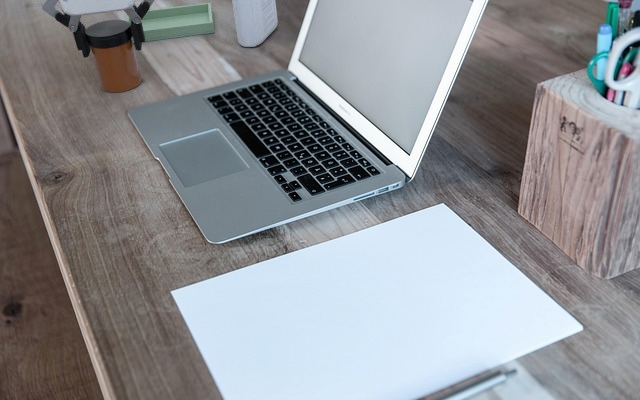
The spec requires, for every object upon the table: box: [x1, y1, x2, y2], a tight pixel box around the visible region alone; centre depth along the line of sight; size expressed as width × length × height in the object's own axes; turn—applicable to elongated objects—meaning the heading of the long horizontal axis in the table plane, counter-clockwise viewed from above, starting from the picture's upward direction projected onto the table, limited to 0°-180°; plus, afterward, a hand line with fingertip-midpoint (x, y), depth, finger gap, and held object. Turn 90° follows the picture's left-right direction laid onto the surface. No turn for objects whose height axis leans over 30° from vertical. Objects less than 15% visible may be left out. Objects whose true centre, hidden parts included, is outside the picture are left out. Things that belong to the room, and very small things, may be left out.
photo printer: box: [231, 0, 279, 48], centre depth 116 cm, size 10×4×12 cm, turn 162°
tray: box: [124, 2, 215, 44], centre depth 125 cm, size 15×10×2 cm
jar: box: [90, 38, 143, 94], centre depth 105 cm, size 6×6×8 cm
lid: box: [85, 19, 132, 48], centre depth 103 cm, size 6×6×2 cm
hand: (113, 49), depth 105 cm, fingers open, 7 cm apart
